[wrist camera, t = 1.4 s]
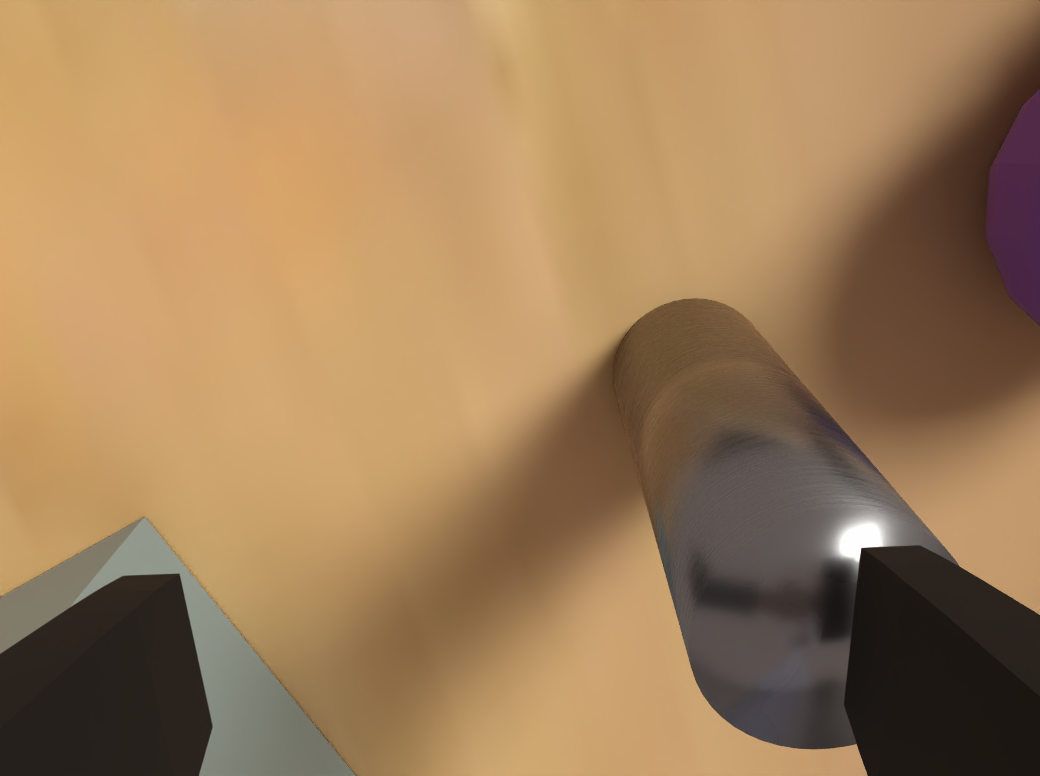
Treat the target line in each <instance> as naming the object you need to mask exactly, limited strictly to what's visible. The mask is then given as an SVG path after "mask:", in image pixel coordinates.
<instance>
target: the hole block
mask: <svg viewBox="0 0 1040 776" xmlns="http://www.w3.org/2000/svg"><path fill="white" fill-rule="evenodd" d="M178 573H180V577H181V582H182V587H183V591H184V596H185V601H186V605H187V610H188V614H189V619H190V624H191V628H192V633H193V637H194V642H195V647H196V651H197V656H198V660H199V665H200V670H201V674H202V679H203V683H204V688H205V693H206V697H207V702H208V706H209V711H210V716H211V720H212V725H213V728H212V731H211V735H210V739H209V742H208V746H207V749H206V753H205V756H204V760H203V763H202V767H201V770H200V774H199V776H356V775H355V774H354V773H353V772H352V770H351V769H350V768H349V767H348V765H347V764H346V763H345V762H344V761H343V759H342V758H341V757H340V756H339V754H338V753H337V752H336V751H335V750H334V748H333V747H332V746H331V745H330V743H329V742H328V741H327V740H326V738H325V737H324V736H323V735H322V734H321V732H320V731H319V730H318V729H317V727H316V726H315V725H314V724H313V723H312V721H311V720H310V719H309V718H308V716H307V715H306V714H305V713H304V711H303V710H302V709H301V708H300V707H299V705H298V704H297V703H296V702H295V700H294V699H293V698H292V697H291V696H290V694H289V693H288V692H287V691H286V689H285V688H284V687H283V686H282V685H281V683H280V682H279V681H278V680H277V678H276V677H275V676H274V675H273V673H272V672H271V671H270V670H269V669H268V667H267V666H266V665H265V664H264V662H263V661H262V660H261V659H260V658H259V656H258V655H257V654H256V653H255V651H254V650H253V649H252V648H251V646H250V645H249V644H248V643H247V642H246V640H245V639H244V638H243V637H242V635H241V634H240V633H239V632H238V631H237V629H236V628H235V627H234V626H233V624H232V623H231V622H230V621H229V619H228V618H227V617H226V616H225V615H224V613H223V612H222V611H221V610H220V608H219V607H218V606H217V605H216V604H215V602H214V601H213V600H212V599H211V597H210V596H209V595H208V594H207V593H206V591H205V590H204V589H203V588H202V586H201V585H200V584H199V583H198V581H197V580H196V579H195V578H194V577H193V575H192V574H191V573H190V572H189V570H188V569H187V568H186V567H185V566H184V564H183V563H182V562H181V561H180V559H179V558H178V557H177V556H176V554H175V553H174V552H173V551H172V550H171V548H170V547H169V546H168V545H167V543H166V542H165V541H164V540H163V539H162V537H161V536H160V535H159V534H158V532H157V531H156V530H155V529H154V527H153V526H152V525H151V524H150V523H149V521H148V520H147V519H146V518H145V517H143V518H141V519H140V520H138V521H136V522H134V523H132V524H131V525H129V526H127V527H125V528H123V529H122V530H120V531H118V532H116V533H114V534H113V535H111V536H109V537H107V538H105V539H104V540H102V541H100V542H98V543H97V544H95V545H93V546H91V547H89V548H88V549H86V550H84V551H82V552H80V553H79V554H77V555H75V556H73V557H71V558H70V559H68V560H66V561H64V562H62V563H61V564H59V565H57V566H55V567H53V568H52V569H50V570H48V571H46V572H44V573H43V574H41V575H39V576H37V577H36V578H34V579H32V580H30V581H28V582H27V583H25V584H23V585H21V586H19V587H18V588H16V589H14V590H12V591H10V592H9V593H7V594H5V595H3V596H1V597H0V653H2V652H3V651H5V650H7V649H8V648H10V647H11V646H13V645H14V644H16V643H17V642H19V641H20V640H22V639H23V638H25V637H26V636H28V635H29V634H31V633H32V632H34V631H35V630H37V629H38V628H40V627H41V626H43V625H44V624H46V623H47V622H49V621H50V620H52V619H53V618H55V617H56V616H58V615H59V614H61V613H62V612H64V611H65V610H67V609H68V608H70V607H71V606H73V605H74V604H76V603H78V602H79V601H81V600H82V599H84V598H85V597H87V596H89V595H90V594H92V593H93V592H95V591H97V590H98V589H100V588H102V587H103V586H105V585H107V584H109V583H111V582H112V581H114V580H116V579H118V578H120V577H122V576H126V575H152V574H178Z"/></svg>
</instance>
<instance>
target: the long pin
mask: <svg viewBox="0 0 1040 776" xmlns="http://www.w3.org/2000/svg"><path fill="white" fill-rule="evenodd" d="M613 383H614V389H615V393H616V397H617V401H618V404H619V408H620V412H621V415H622V419H623V422H624V426H625V430H626V433H627V437H628V440H629V444H630V448H631V451H632V455H633V458H634V462H635V466H636V469H637V473H638V477H639V480H640V484H641V487H642V491H643V495H644V498H645V502H646V505H647V509H648V513H649V516H650V520H651V524H652V527H653V531H654V534H655V538H656V542H657V545H658V549H659V552H660V556H661V560H662V563H663V567H664V571H665V574H666V578H667V581H668V585H669V589H670V592H671V596H672V599H673V603H674V607H675V610H676V614H677V618H678V621H679V625H680V628H681V632H682V636H683V639H684V643H685V646H686V650H687V654H688V657H689V661H690V664H691V668H692V671H693V674H694V677H695V680H696V682H697V684H698V686H699V688H700V690H701V692H702V694H703V695H704V697H705V698H706V700H707V701H708V702H709V704H710V705H711V706H712V707H713V709H714V710H715V711H716V712H717V713H718V714H719V715H720V716H721V717H722V718H724V719H725V720H726V721H728V722H729V723H730V724H732V725H733V726H734V727H736V728H738V729H739V730H741V731H743V732H745V733H746V734H748V735H750V736H753V737H755V738H758V739H760V740H762V741H765V742H769V743H772V744H776V745H779V746H785V747H792V748H800V749H829V748H837V747H844V746H850V745H854V744H857V743H856V740H855V737H854V734H853V731H852V728H851V725H850V722H849V719H848V716H847V713H846V710H845V707H844V697H845V688H846V679H847V670H848V660H849V651H850V642H851V633H852V624H853V614H854V605H855V596H856V587H857V578H858V568H859V559H860V550H861V547H886V546H912V545H920V546H922V547H924V548H926V549H928V550H930V551H932V552H934V553H936V554H938V555H940V556H942V557H943V558H945V559H947V560H949V561H951V562H952V563H954V564H956V565H958V563H957V562H956V561H955V559H954V558H953V557H952V556H951V554H950V553H949V552H948V551H947V549H946V548H945V547H944V546H943V545H942V544H941V543H940V541H939V540H938V539H937V538H936V537H935V536H934V534H933V533H932V532H931V531H930V530H929V529H928V527H927V526H926V525H925V524H924V523H923V522H922V521H921V519H920V518H919V517H918V516H917V515H916V514H915V512H914V511H913V510H912V509H911V508H910V507H909V506H908V504H907V503H906V502H905V501H904V500H903V499H902V497H901V496H900V495H899V494H898V493H897V492H896V490H895V489H894V488H893V487H892V486H891V485H890V484H889V482H888V481H887V480H886V479H885V478H884V477H883V475H882V474H881V473H880V472H879V471H878V470H877V469H876V467H875V466H874V465H873V464H872V463H871V462H870V460H869V459H868V458H867V457H866V456H865V455H864V453H863V452H862V451H861V450H860V449H859V448H858V447H857V445H856V444H855V443H854V442H853V441H852V440H851V438H850V437H849V436H848V435H847V434H846V433H845V432H844V430H843V429H842V428H841V427H840V426H839V425H838V423H837V422H836V421H835V420H834V419H833V418H832V416H831V415H830V414H829V413H828V412H827V411H826V410H825V408H824V407H823V406H822V405H821V404H820V403H819V401H818V400H817V399H816V398H815V397H814V396H813V394H812V393H811V392H810V391H809V390H808V389H807V388H806V386H805V385H804V384H803V383H802V382H801V381H800V379H799V378H798V377H797V376H796V375H795V374H794V373H793V371H792V370H791V369H790V368H789V367H788V366H787V364H786V363H785V362H784V361H783V360H782V359H781V357H780V356H779V355H778V354H777V353H776V352H775V351H774V349H773V348H772V347H771V346H770V345H769V344H768V342H767V341H766V340H765V339H764V338H763V337H762V336H761V334H760V333H759V332H758V331H757V330H756V329H755V327H754V326H753V325H752V324H751V323H750V322H749V321H748V320H747V319H746V318H745V317H744V316H743V315H742V314H740V313H739V312H738V311H736V310H735V309H733V308H731V307H729V306H727V305H725V304H722V303H719V302H716V301H712V300H707V299H683V300H678V301H673V302H670V303H667V304H664V305H662V306H660V307H658V308H656V309H654V310H652V311H651V312H649V313H647V314H646V315H645V316H643V317H642V318H641V319H640V320H639V321H637V323H636V324H635V325H634V326H633V327H632V328H631V329H630V330H629V332H628V333H627V334H626V336H625V337H624V339H623V341H622V343H621V344H620V347H619V349H618V352H617V354H616V358H615V362H614V370H613ZM958 566H959V565H958Z"/></svg>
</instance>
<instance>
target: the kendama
mask: <svg viewBox="0 0 1040 776" xmlns="http://www.w3.org/2000/svg"><path fill="white" fill-rule="evenodd" d="M985 237H986V240H987V242H988V245H989V247H990V250H991V252H992V255H993V257H994V260H995V262H996V265H997V267H998V270H999V272H1000V274H1001V277H1002V279H1003V282H1004V284H1005V287H1006V289H1007V292H1008V294H1009V297H1010V298H1011V299H1012V300H1013V301H1014V302H1015V303H1016V304H1017V305H1018V306H1019V307H1021V308H1022V309H1023V310H1024V311H1025V312H1026V313H1027V314H1028V315H1029V316H1030V317H1031V318H1032V319H1033V320H1034V321H1035V322H1036V323H1038V324H1039V325H1040V89H1039V90H1038V91H1037V92H1036V93H1035V94H1034V95H1033V96H1032V97H1031V98H1030V99H1029V100H1028V101H1026V102H1025V103H1024V104H1023V105H1022V107H1021V109H1020V111H1019V113H1018V115H1017V117H1016V119H1015V121H1014V123H1013V124H1012V126H1011V128H1010V130H1009V132H1008V134H1007V136H1006V138H1005V140H1004V142H1003V144H1002V146H1001V148H1000V150H999V152H998V154H997V156H996V158H995V160H994V162H993V164H992V166H991V168H990V170H989V182H988V198H987V214H986V230H985Z"/></svg>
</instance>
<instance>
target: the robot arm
mask: <svg viewBox="0 0 1040 776" xmlns="http://www.w3.org/2000/svg"><path fill="white" fill-rule="evenodd" d="M844 707H845V710H846V713H847V716H848V719H849V722H850V725H851V728H852V731H853V734H854V737H855V740H856V743H857V746H858V749H859V752H860V755H861V758H862V761H863V764H864V766H865V769H866V772H867V775H868V776H1040V615H1039V614H1037V613H1036V612H1034V611H1032V610H1031V609H1029V608H1027V607H1026V606H1024V605H1022V604H1021V603H1019V602H1018V601H1016V600H1014V599H1013V598H1011V597H1009V596H1008V595H1006V594H1004V593H1003V592H1001V591H999V590H998V589H996V588H994V587H993V586H991V585H990V584H988V583H986V582H985V581H983V580H981V579H980V578H978V577H976V576H974V575H973V574H971V573H969V572H968V571H966V570H964V569H963V568H961V567H959V566H958V565H956V564H954V563H952V562H951V561H949V560H947V559H945V558H943V557H942V556H940V555H938V554H936V553H934V552H932V551H930V550H928V549H926V548H924V547H922V546H920V545H912V546H886V547H861V550H860V559H859V568H858V578H857V587H856V596H855V605H854V614H853V624H852V633H851V642H850V651H849V660H848V670H847V679H846V688H845V697H844ZM212 728H213V725H212V720H211V716H210V711H209V706H208V702H207V697H206V693H205V688H204V683H203V679H202V674H201V670H200V665H199V660H198V656H197V651H196V647H195V642H194V637H193V633H192V628H191V624H190V619H189V614H188V610H187V605H186V601H185V596H184V591H183V587H182V582H181V577H180V573H178V574H152V575H126V576H122V577H120V578H118V579H116V580H114V581H112V582H111V583H109V584H107V585H105V586H103V587H102V588H100V589H98V590H97V591H95V592H93V593H92V594H90V595H89V596H87V597H85V598H84V599H82V600H81V601H79V602H78V603H76V604H74V605H73V606H71V607H70V608H68V609H67V610H65V611H64V612H62V613H61V614H59V615H58V616H56V617H55V618H53V619H52V620H50V621H49V622H47V623H46V624H44V625H43V626H41V627H40V628H38V629H37V630H35V631H34V632H32V633H31V634H29V635H28V636H26V637H25V638H23V639H22V640H20V641H19V642H17V643H16V644H14V645H13V646H11V647H10V648H8V649H7V650H5V651H3V652H2V653H0V776H199V774H200V770H201V767H202V763H203V760H204V756H205V753H206V749H207V746H208V742H209V739H210V735H211V731H212Z"/></svg>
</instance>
